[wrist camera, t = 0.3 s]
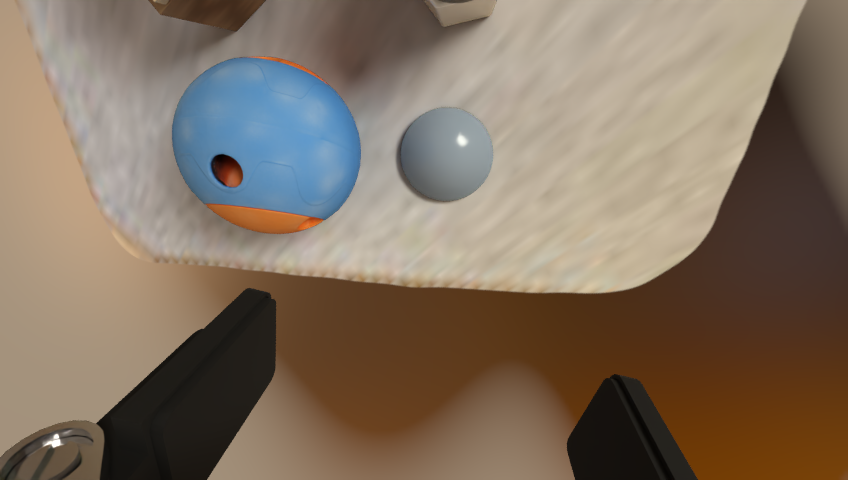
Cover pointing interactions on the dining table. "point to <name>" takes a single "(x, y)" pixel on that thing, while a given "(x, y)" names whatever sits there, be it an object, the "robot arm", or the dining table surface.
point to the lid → (161, 1)
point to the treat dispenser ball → (266, 144)
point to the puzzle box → (211, 11)
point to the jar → (460, 10)
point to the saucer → (446, 154)
